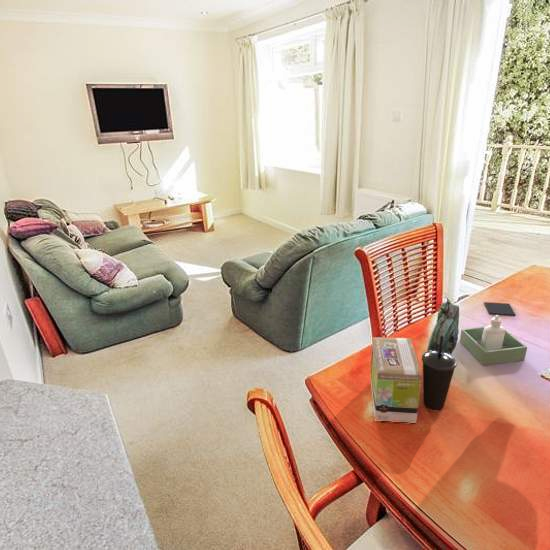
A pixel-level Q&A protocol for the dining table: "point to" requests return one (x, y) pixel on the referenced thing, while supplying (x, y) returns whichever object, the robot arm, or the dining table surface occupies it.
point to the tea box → (395, 379)
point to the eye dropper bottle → (493, 335)
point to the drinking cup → (437, 376)
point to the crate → (511, 354)
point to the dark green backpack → (445, 328)
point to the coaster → (499, 309)
